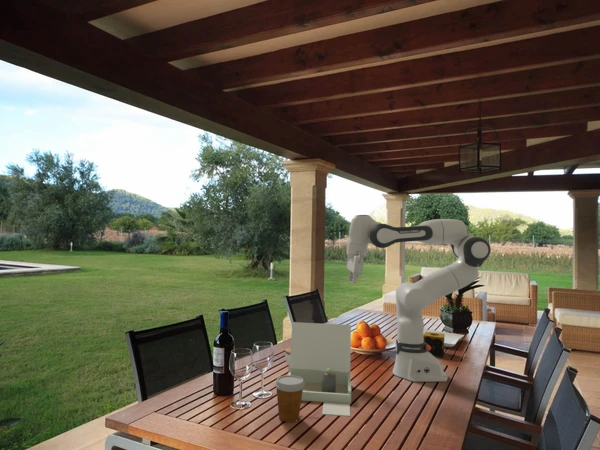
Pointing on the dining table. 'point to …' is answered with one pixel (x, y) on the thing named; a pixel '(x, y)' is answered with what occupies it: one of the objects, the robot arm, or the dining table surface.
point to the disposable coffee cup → (289, 397)
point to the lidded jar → (288, 355)
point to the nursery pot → (329, 381)
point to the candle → (435, 343)
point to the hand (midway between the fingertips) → (352, 282)
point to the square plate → (448, 338)
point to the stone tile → (336, 409)
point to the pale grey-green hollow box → (321, 359)
